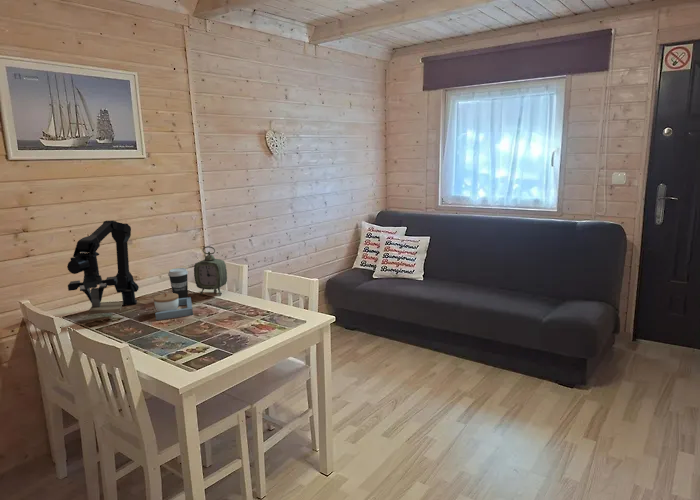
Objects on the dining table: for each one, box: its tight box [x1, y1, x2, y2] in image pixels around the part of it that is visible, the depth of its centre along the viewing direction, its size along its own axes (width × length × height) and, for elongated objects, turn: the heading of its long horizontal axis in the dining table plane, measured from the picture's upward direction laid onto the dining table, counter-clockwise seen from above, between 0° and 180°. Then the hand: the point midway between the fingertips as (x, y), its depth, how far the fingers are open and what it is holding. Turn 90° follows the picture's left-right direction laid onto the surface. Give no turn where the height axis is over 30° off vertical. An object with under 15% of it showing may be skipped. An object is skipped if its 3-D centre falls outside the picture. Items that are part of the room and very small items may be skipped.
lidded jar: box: [153, 292, 179, 312], centre depth 217 cm, size 11×11×9 cm
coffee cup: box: [167, 267, 189, 299], centre depth 236 cm, size 10×10×15 cm
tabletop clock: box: [193, 245, 228, 296], centre depth 242 cm, size 14×9×25 cm, turn 76°
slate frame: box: [154, 296, 194, 321], centre depth 219 cm, size 19×16×3 cm
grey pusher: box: [88, 287, 123, 315], centre depth 210 cm, size 12×12×10 cm
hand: (96, 302), depth 209 cm, fingers closed on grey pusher, 3 cm apart
